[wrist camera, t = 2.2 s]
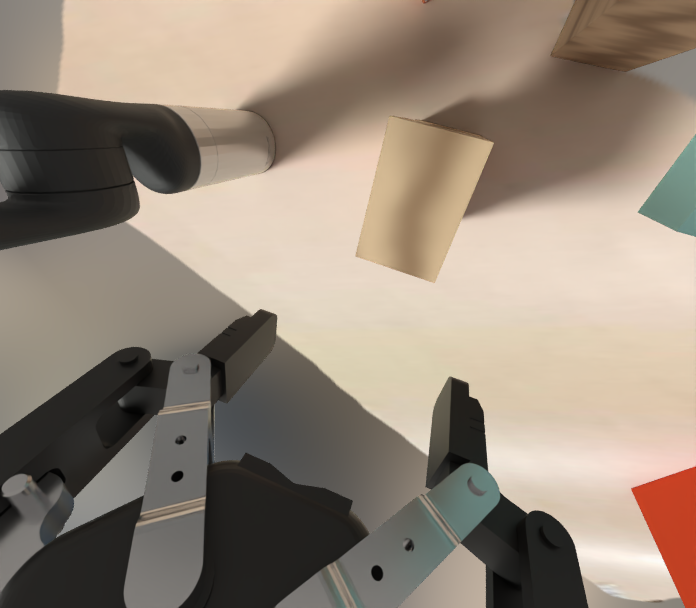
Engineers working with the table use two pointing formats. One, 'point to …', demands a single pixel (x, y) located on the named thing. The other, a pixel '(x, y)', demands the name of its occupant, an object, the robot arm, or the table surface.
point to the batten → (676, 195)
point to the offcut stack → (420, 195)
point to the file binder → (673, 526)
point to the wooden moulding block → (627, 32)
